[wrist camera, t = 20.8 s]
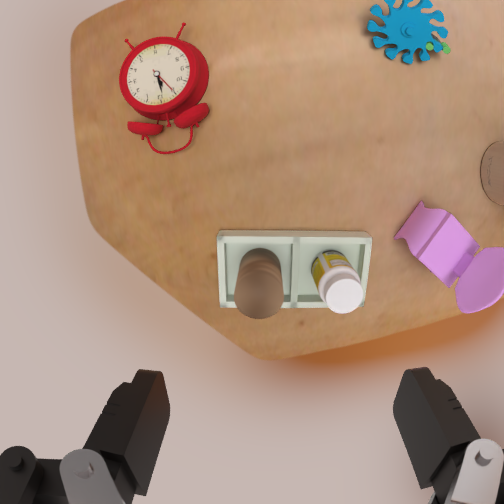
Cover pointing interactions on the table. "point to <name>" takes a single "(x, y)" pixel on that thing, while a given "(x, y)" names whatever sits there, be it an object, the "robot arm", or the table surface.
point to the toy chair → (455, 257)
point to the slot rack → (291, 260)
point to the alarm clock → (165, 84)
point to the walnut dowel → (259, 284)
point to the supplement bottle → (336, 281)
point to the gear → (409, 30)
